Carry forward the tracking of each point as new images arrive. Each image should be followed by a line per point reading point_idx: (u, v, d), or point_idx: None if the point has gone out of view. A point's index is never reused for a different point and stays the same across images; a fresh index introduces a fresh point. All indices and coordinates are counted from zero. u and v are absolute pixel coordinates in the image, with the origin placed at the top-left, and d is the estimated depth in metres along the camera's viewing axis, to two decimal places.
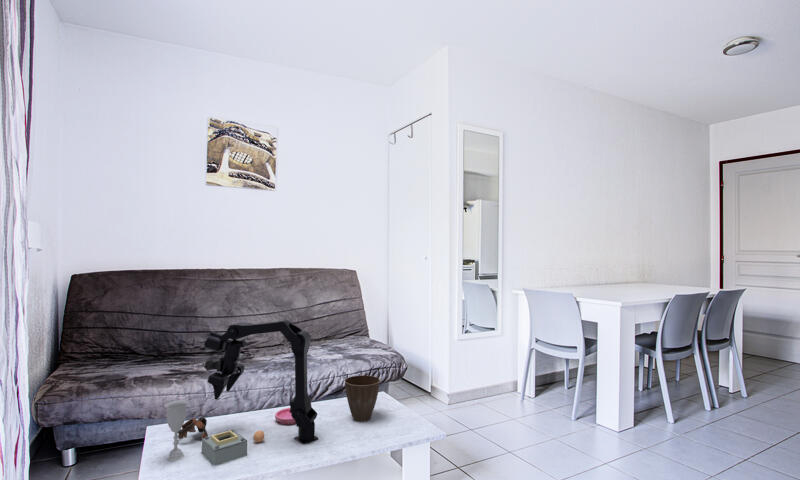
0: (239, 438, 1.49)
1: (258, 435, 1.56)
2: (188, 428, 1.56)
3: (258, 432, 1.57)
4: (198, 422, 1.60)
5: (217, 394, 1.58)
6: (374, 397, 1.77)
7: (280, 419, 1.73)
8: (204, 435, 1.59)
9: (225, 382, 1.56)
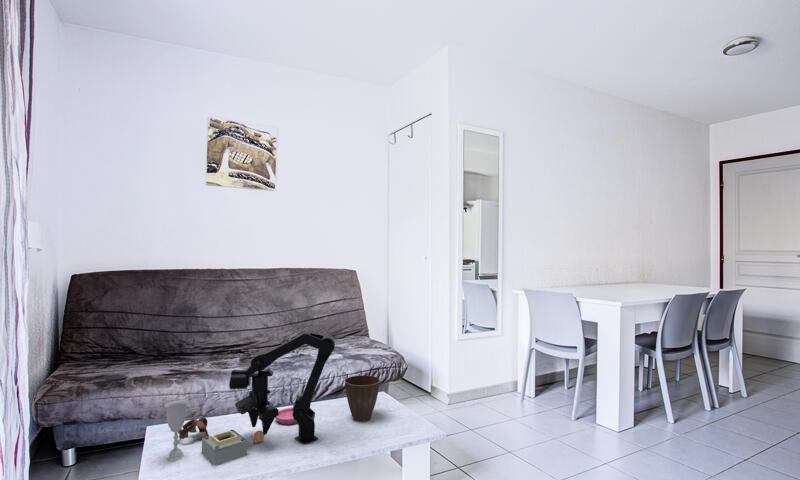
0: (239, 438, 1.49)
1: (258, 435, 1.56)
2: (189, 428, 1.56)
3: (258, 432, 1.57)
4: (199, 422, 1.60)
5: (267, 428, 1.54)
6: (374, 397, 1.77)
7: (280, 419, 1.73)
8: (205, 435, 1.59)
9: None
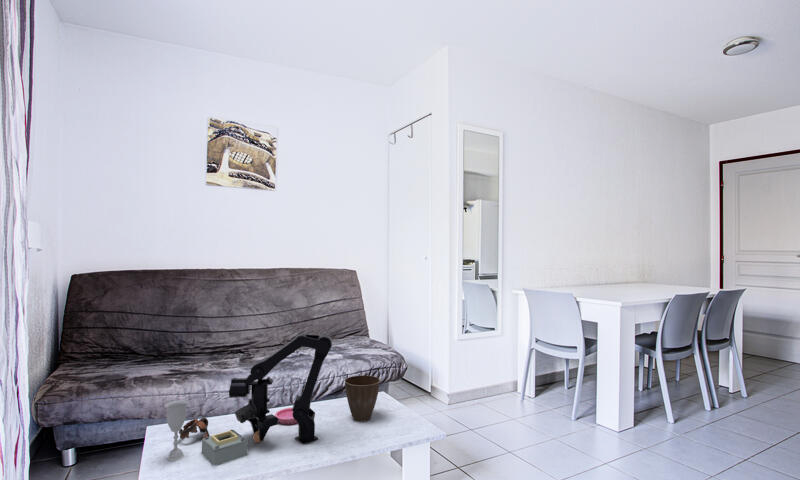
0: (239, 438, 1.49)
1: (258, 435, 1.56)
2: (190, 429, 1.56)
3: (258, 432, 1.57)
4: (200, 422, 1.60)
5: (263, 435, 1.56)
6: (374, 397, 1.77)
7: (280, 419, 1.73)
8: (206, 435, 1.59)
9: None
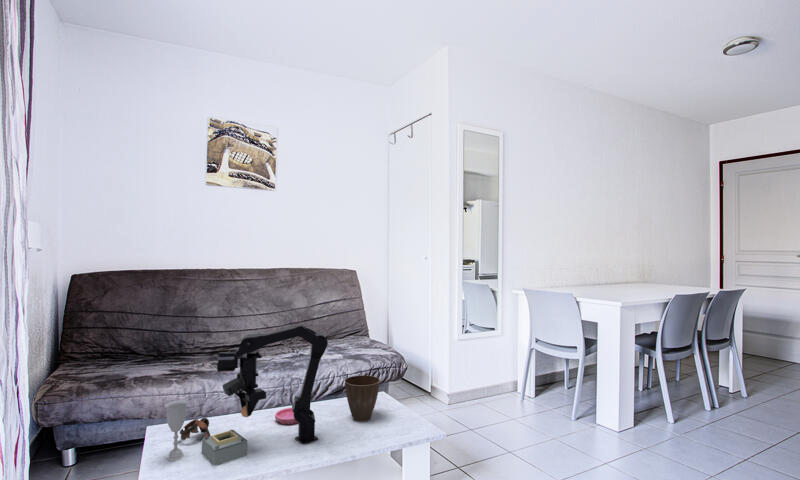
0: (239, 438, 1.49)
1: (245, 410, 1.53)
2: (191, 429, 1.55)
3: (246, 407, 1.54)
4: (201, 423, 1.59)
5: (251, 409, 1.52)
6: (374, 397, 1.77)
7: (280, 419, 1.73)
8: (207, 436, 1.58)
9: None
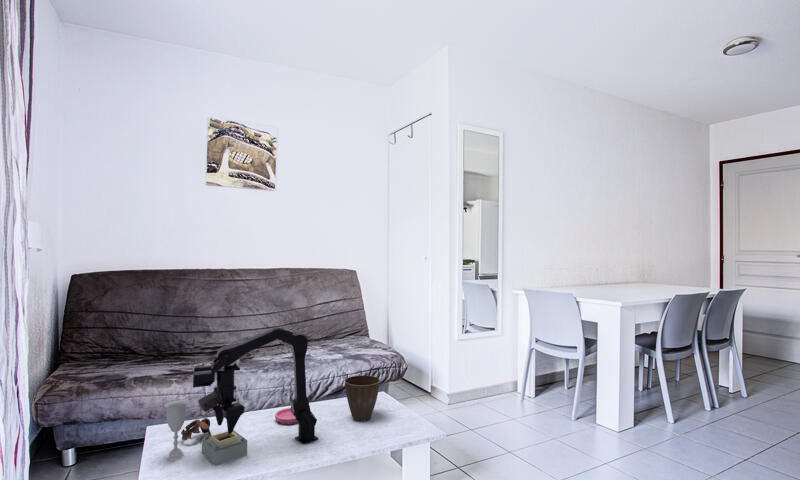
0: (239, 438, 1.49)
1: None
2: (192, 429, 1.55)
3: None
4: (202, 423, 1.59)
5: (232, 426, 1.44)
6: (374, 397, 1.77)
7: (280, 419, 1.73)
8: (208, 436, 1.58)
9: None
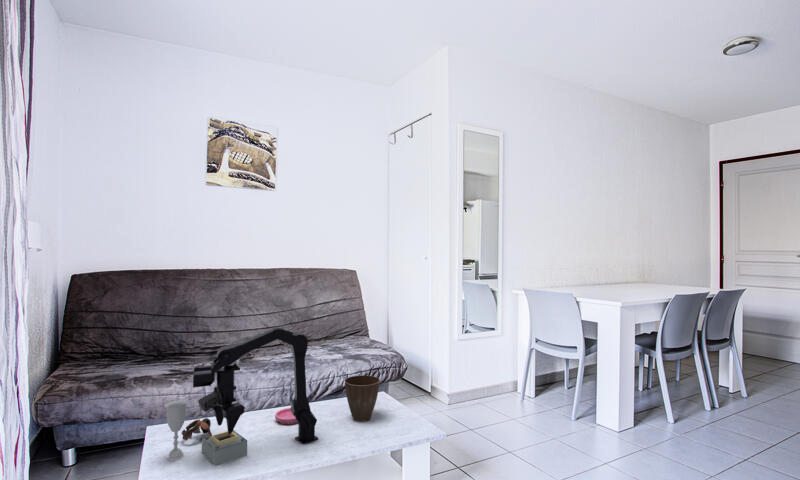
0: (239, 438, 1.49)
1: None
2: (193, 429, 1.55)
3: None
4: (203, 423, 1.59)
5: (232, 426, 1.44)
6: (374, 397, 1.77)
7: (280, 419, 1.73)
8: (209, 436, 1.58)
9: None
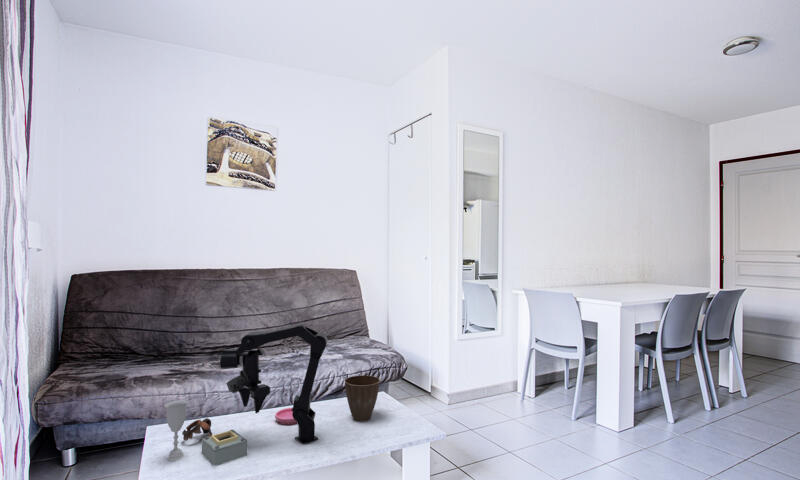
0: (239, 438, 1.49)
1: None
2: (194, 429, 1.55)
3: None
4: (203, 423, 1.59)
5: (259, 406, 1.55)
6: (374, 397, 1.77)
7: (280, 419, 1.73)
8: None
9: None
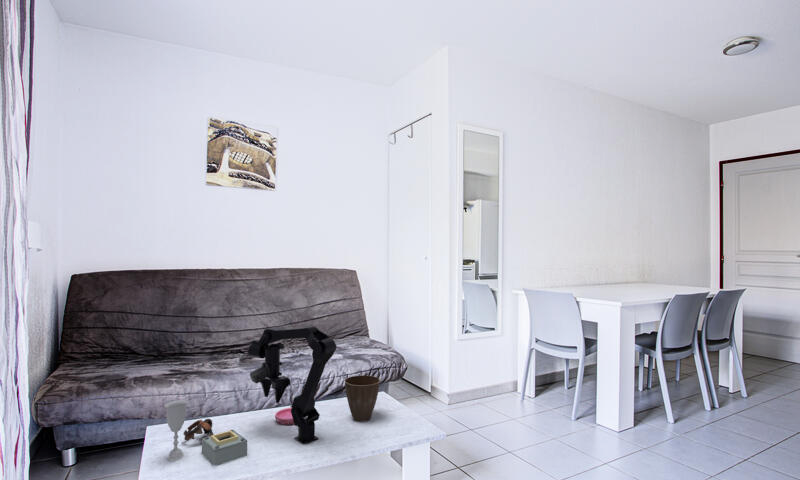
0: (239, 438, 1.49)
1: None
2: (195, 430, 1.55)
3: None
4: (205, 424, 1.59)
5: (279, 397, 1.64)
6: (374, 397, 1.77)
7: (280, 419, 1.73)
8: None
9: None
